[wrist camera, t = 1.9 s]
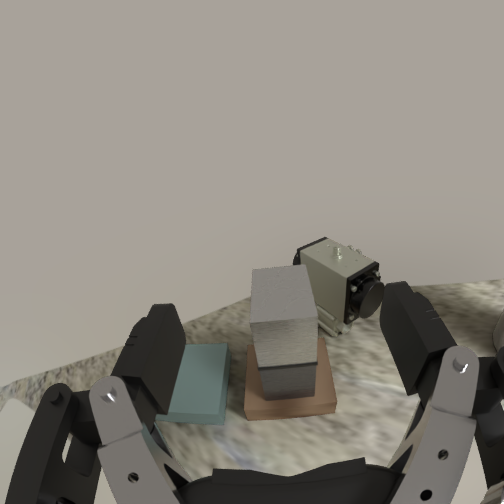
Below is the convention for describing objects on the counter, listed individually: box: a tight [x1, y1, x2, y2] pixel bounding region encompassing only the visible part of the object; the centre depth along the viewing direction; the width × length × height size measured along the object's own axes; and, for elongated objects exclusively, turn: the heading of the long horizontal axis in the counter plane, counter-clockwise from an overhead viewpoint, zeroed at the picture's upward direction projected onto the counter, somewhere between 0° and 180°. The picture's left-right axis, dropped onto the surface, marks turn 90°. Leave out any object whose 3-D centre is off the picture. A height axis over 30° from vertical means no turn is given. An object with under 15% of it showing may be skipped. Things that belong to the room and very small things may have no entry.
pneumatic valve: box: [293, 237, 385, 337], centre depth 33 cm, size 6×12×12 cm, turn 29°
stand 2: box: [244, 337, 337, 421], centre depth 28 cm, size 9×9×2 cm
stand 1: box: [155, 343, 231, 425], centre depth 29 cm, size 10×10×2 cm
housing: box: [250, 264, 318, 401], centre depth 25 cm, size 5×7×11 cm
